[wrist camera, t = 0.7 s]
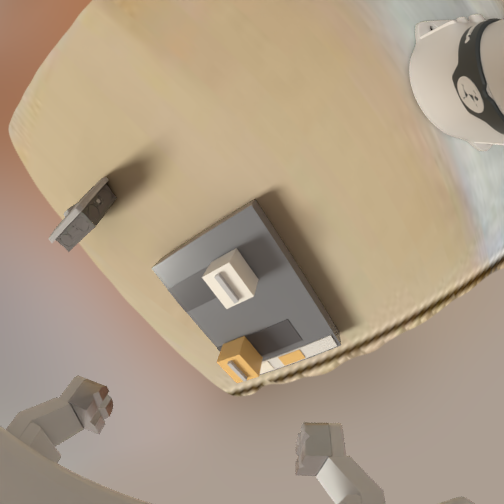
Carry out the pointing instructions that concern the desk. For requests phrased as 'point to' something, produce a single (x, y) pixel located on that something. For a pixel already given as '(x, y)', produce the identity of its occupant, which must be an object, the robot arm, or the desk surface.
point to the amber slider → (240, 360)
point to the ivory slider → (231, 279)
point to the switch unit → (265, 298)
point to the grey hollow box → (84, 215)
